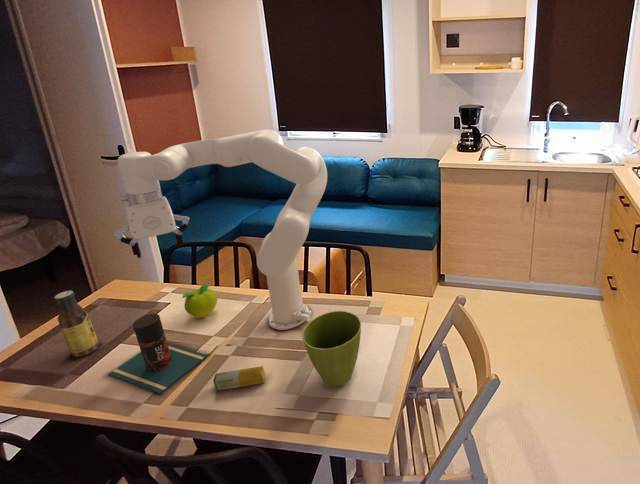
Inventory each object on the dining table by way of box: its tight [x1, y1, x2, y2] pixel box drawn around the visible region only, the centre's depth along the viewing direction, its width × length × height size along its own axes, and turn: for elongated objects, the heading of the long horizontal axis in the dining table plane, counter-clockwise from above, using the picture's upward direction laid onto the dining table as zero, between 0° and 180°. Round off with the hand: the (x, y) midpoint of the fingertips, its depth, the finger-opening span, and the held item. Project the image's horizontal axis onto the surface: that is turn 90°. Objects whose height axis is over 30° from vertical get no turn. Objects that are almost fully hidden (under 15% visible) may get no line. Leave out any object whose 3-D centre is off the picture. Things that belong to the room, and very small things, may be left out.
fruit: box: [181, 283, 218, 318], centre depth 131 cm, size 9×9×10 cm
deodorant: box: [132, 313, 172, 372], centre depth 109 cm, size 6×6×15 cm
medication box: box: [212, 365, 267, 391], centre depth 104 cm, size 12×3×4 cm, turn 101°
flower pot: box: [301, 310, 362, 388], centre depth 105 cm, size 15×15×16 cm
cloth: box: [108, 342, 208, 395], centre depth 111 cm, size 20×14×1 cm
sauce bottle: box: [53, 290, 99, 358], centre depth 113 cm, size 6×6×20 cm
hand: (160, 251), depth 113 cm, fingers open, 9 cm apart
